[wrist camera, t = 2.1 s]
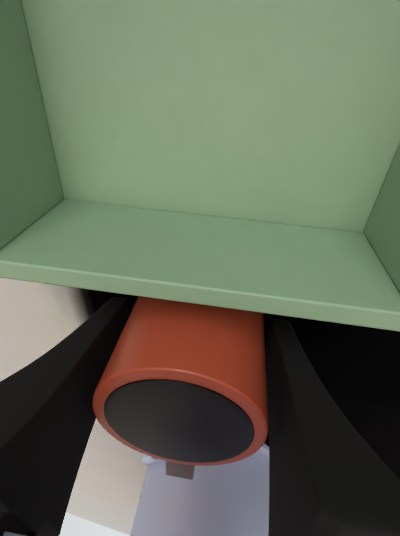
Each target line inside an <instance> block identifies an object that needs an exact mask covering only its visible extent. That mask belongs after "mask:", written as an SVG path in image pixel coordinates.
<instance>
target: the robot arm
mask: <svg viewBox="0 0 400 536" xmlns="http://www.w3.org/2000/svg"><path fill="white" fill-rule="evenodd" d="M128 318H129V309H128V300H127V298H119V297H112V298H111V299H110V300H109V301H107V302H106V303H105V304H104V305H103V306H102V307H101V308H100V309H99V310H98V311H97V312H95V313H94V314H93V315H92V316H91V317H90V318H89V319H88V320H87V321H85V322H84V323H83V324H82V325H81V326H80V327H78V328H77V329H76V330H75V331H74V332H73V333H71V334H70V335H69V336H68V337H66V338H65V339H64V340H62V341H61V342H60V343H59V344H57V345H56V346H55V347H53V348H52V349H51V350H49V351H48V352H47V353H45V354H44V355H42V356H41V357H40V358H38V359H37V360H35V361H34V362H32V363H31V364H29V365H28V366H26V367H24V368H23V369H21V370H20V371H18V372H16V373H14V374H13V375H11V376H9V377H8V378H6V379H4V380H3V381H1V382H0V536H58V535H59V534H60V530H61V527H62V523H63V520H64V516H65V513H66V509H67V506H68V502H69V499H70V495H71V492H72V489H73V486H74V482H75V479H76V476H77V473H78V469H79V466H80V463H81V460H82V457H83V454H84V451H85V448H86V445H87V442H88V439H89V436H90V433H91V430H92V428H93V425H94V422H95V419H96V416H95V413H94V411H93V405H92V403H93V395H94V392H95V390H96V388H97V385H98V383H99V381H100V379H101V377H102V375H103V372H104V370H105V368H106V366H107V364H108V362H109V359H110V357H111V355H112V353H113V351H114V349H115V346H116V344H117V342H118V340H119V338H120V335H121V333H122V331H123V329H124V327H125V325H126V322H127V320H128ZM265 365H266V389H267V413H268V430H269V447H268V446H267V445H266V444H265V443H264V445H263V446H262V447H261V448H260V449H259V450H258V451H257V452H256V453H255V454H253V455H251V456H250V457H248V458H245V459H243V460H241V461H237V462H234V463H229V464H223V465H212V466H197V465H195V469H194V476H193V479H192V480H190V479H185V478H179V477H174V476H168V475H166V464H165V460H161V459H157V458H154V457H151V456H148V455H146V454H143V453H142V454H141V458H140V460H141V461H142V462H143V463H145V464H147V465H148V468H147V472H146V476H145V480H144V484H143V488H142V492H141V496H140V500H139V504H138V508H137V512H136V516H135V520H134V523H133V527H132V531H131V535H130V536H400V479H398V477H397V476H396V475H395V474H394V473H393V472H392V471H391V470H390V469H389V468H388V467H387V466H386V465H385V464H384V463H383V461H382V460H381V459H380V458H379V457H378V456H377V455H376V454H375V452H374V451H373V450H372V449H371V448H370V447H369V445H368V444H367V443H366V442H365V441H364V439H363V438H362V437H361V436H360V435H359V434H358V432H357V431H356V430H355V429H354V427H353V426H352V425H351V424H350V422H349V421H348V420H347V418H346V417H345V416H344V415H343V413H342V412H341V410H340V409H339V408H338V406H337V405H336V404H335V402H334V401H333V399H332V398H331V396H330V395H329V393H328V392H327V390H326V389H325V387H324V385H323V384H322V382H321V381H320V379H319V378H318V376H317V374H316V372H315V371H314V369H313V367H312V365H311V364H310V362H309V360H308V358H307V357H306V355H305V353H304V351H303V349H302V347H301V345H300V343H299V341H298V339H297V337H296V335H295V332H294V330H293V328H292V326H291V323H290V322H289V321H288V320H281V319H274V318H273V320H272V323H271V327H270V331H269V334H268V338H267V342H266V346H265Z"/></svg>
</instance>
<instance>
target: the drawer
mask: <svg viewBox="0 0 400 536" xmlns="http://www.w3.org/2000/svg"><path fill="white" fill-rule="evenodd" d="M0 277H1V278H8V279H16V280H23V281H30V282H38V283H45V284H53V285H60V286H67V287H75V288H82V289H90V290H97V291H105V292H112V293H119V294H127V295H134V296H142V297H149V298H156V299H164V300H171V301H179V302H186V303H193V304H201V305H208V306H216V307H223V308H230V309H238V310H245V311H253V312H260V313H267V314H275V315H282V316H290V317H297V318H305V319H312V320H319V321H327V322H334V323H342V324H349V325H356V326H364V327H371V328H379V329H386V330H393V331H400V0H0Z"/></svg>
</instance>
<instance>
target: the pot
mask: <svg viewBox="0 0 400 536" xmlns="http://www.w3.org/2000/svg"><path fill="white" fill-rule="evenodd" d="M92 405H93V411H94V413H95V416H96V418H97V419H98V421H99V423H100V424H101V425H102V426H103V428H104V429H105V430H106V431H107V432H108V433H109V434H111V435H112V436H113V437H114V438H116V439H117V440H119V441H120V442H122V443H123V444H125V445H127V446H128V447H130V448H132V449H134V450H136V451H139V452H141V453H143V454H146V455H148V456H151V457H154V458H157V459H161V460H165V464H166V475H168V476H174V477H179V478H185V479H190V480H192V479H193V476H194V469H195V465H197V466H212V465H223V464H229V463H234V462H237V461H241V460H243V459H245V458H248V457H250V456H251V455H253V454H255V453H256V452H257V451H258V450H259V449H260V448H261V447H262V446H263V445H264V443H265V441H266V439H267V435H268V413H267V389H266V365H265V341H264V317H263V313H260V312H253V311H245V310H238V309H230V308H223V307H216V306H208V305H201V304H193V303H186V302H179V301H171V300H164V299H156V298H149V297H142V296H138V299H137V301H136V303H135V305H134V307H133V309H132V312H131V314H130V316H129V318H128V320H127V322H126V325H125V327H124V329H123V331H122V333H121V335H120V338H119V340H118V342H117V344H116V346H115V349H114V351H113V353H112V355H111V357H110V359H109V362H108V364H107V366H106V368H105V370H104V372H103V375H102V377H101V379H100V381H99V383H98V385H97V388H96V390H95V392H94V395H93V403H92Z"/></svg>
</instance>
